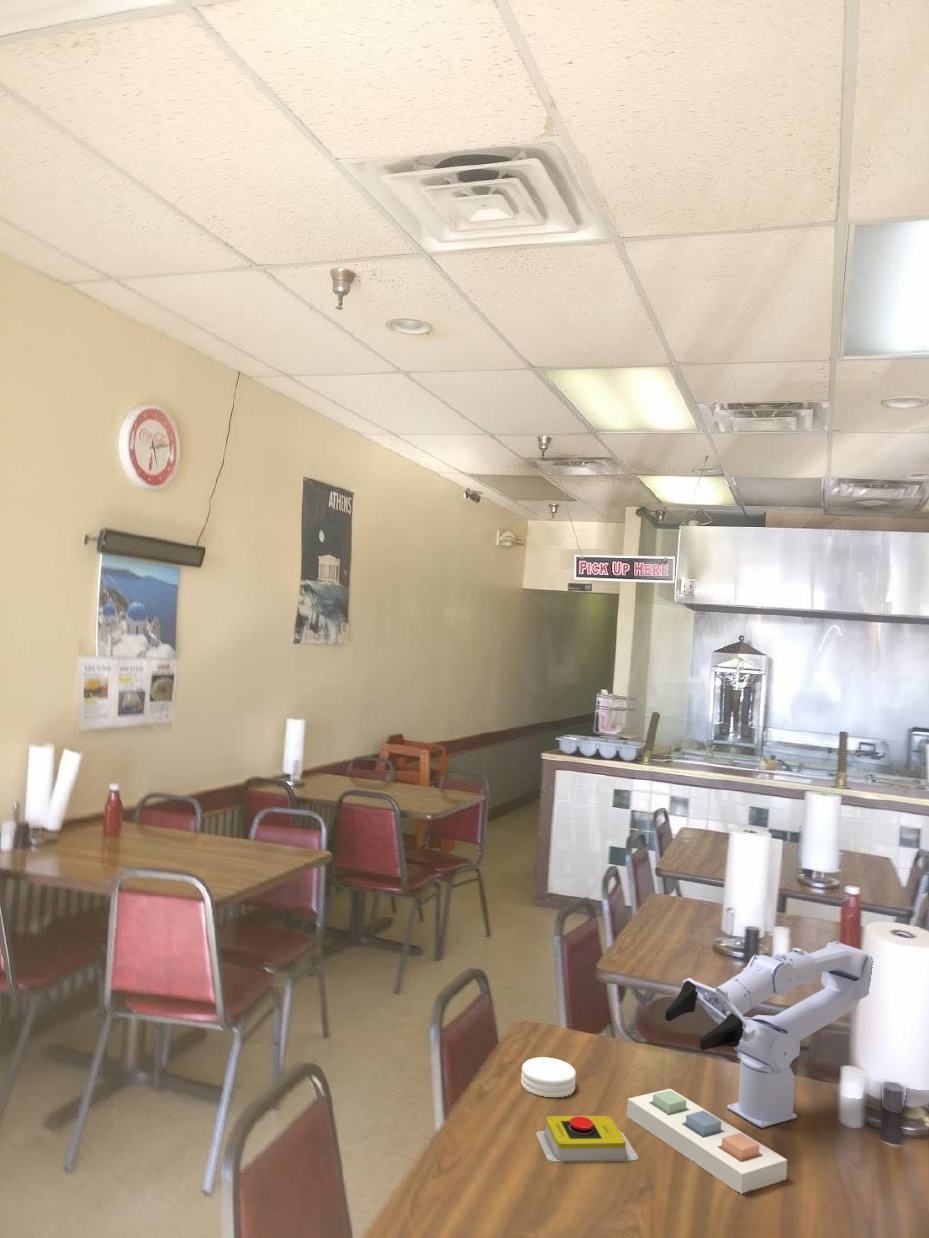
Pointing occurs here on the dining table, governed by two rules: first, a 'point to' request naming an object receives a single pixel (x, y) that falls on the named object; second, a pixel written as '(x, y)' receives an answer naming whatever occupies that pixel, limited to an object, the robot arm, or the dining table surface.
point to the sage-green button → (669, 1102)
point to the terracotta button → (740, 1147)
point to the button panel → (708, 1145)
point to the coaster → (548, 1077)
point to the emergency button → (584, 1140)
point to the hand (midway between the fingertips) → (684, 1029)
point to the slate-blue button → (703, 1124)
